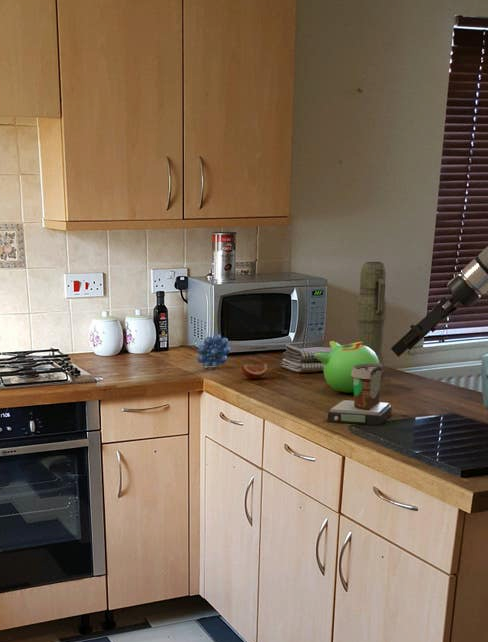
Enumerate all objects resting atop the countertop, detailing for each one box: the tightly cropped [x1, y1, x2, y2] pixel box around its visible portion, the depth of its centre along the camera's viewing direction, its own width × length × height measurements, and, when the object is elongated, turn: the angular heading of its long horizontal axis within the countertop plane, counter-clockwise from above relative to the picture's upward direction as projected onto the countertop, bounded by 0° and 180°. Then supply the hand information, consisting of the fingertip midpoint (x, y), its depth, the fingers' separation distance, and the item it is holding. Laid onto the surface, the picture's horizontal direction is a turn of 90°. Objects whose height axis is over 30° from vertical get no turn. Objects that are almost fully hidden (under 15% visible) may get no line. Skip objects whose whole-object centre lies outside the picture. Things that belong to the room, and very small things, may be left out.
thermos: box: [356, 261, 387, 378], centre depth 274 cm, size 9×12×35 cm
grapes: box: [196, 333, 231, 370], centre depth 301 cm, size 12×7×12 cm, turn 101°
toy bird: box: [314, 340, 379, 394], centre depth 253 cm, size 18×17×15 cm
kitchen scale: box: [327, 399, 393, 426], centre depth 221 cm, size 14×13×3 cm
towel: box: [280, 343, 332, 374], centre depth 295 cm, size 15×18×8 cm
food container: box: [351, 363, 383, 411], centre depth 219 cm, size 12×6×10 cm, turn 153°
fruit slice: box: [241, 362, 269, 380], centre depth 280 cm, size 8×7×5 cm
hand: (400, 349), depth 211 cm, fingers open, 13 cm apart
